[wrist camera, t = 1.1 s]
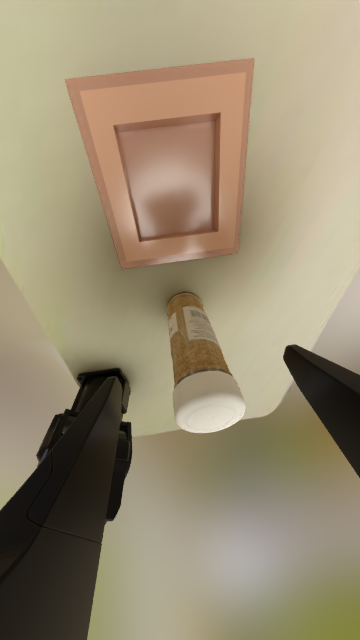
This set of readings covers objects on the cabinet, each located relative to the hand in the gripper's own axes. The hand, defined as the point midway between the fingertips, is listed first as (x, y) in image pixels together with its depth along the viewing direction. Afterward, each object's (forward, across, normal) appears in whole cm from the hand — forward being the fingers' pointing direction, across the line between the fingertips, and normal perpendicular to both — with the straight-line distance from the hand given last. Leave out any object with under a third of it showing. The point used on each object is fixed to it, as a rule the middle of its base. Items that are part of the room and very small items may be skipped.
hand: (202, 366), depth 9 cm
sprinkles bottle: (+13, 0, +4) cm, 13 cm away
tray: (+12, -1, -8) cm, 15 cm away
